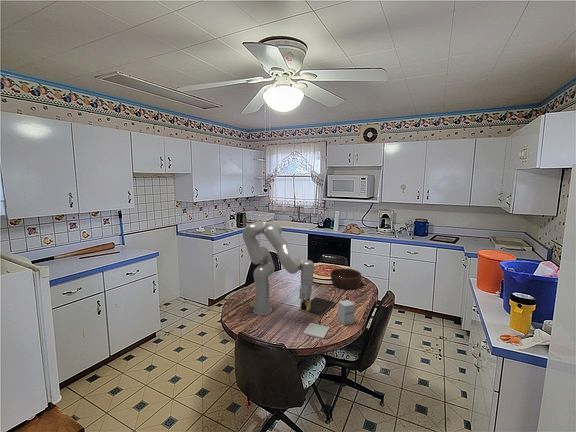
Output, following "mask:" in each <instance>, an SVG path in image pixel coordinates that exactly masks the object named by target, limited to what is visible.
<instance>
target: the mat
mask: <svg viewBox="0 0 576 432" xmlns="http://www.w3.org/2000/svg"><path fill="white" fill-rule="evenodd" d="M329 330H330V326H326V325H322V324H318V323H313V322H309V324H308V325H307V327H306V328H305V330H304V332H303V334H302V335H306V336H309V337H313V338H317V339H322V340H325V338H326V336H327V334H328V332H329Z"/></svg>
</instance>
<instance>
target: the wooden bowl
mask: <svg viewBox="0 0 576 432" xmlns="http://www.w3.org/2000/svg"><path fill="white" fill-rule="evenodd" d="M339 276H340V277H339ZM341 277H342V278H341ZM361 279H362V273H361V272H360V271H359V270H356V269H351V268H345V267H344V268H335V269H333V270H331V272H330V280H331V283H332V284H333V286H334V287H336V288H339V289H342V290H354V289H357V288H358V287H359V285H360V284H361V281H362V280H361Z"/></svg>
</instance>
